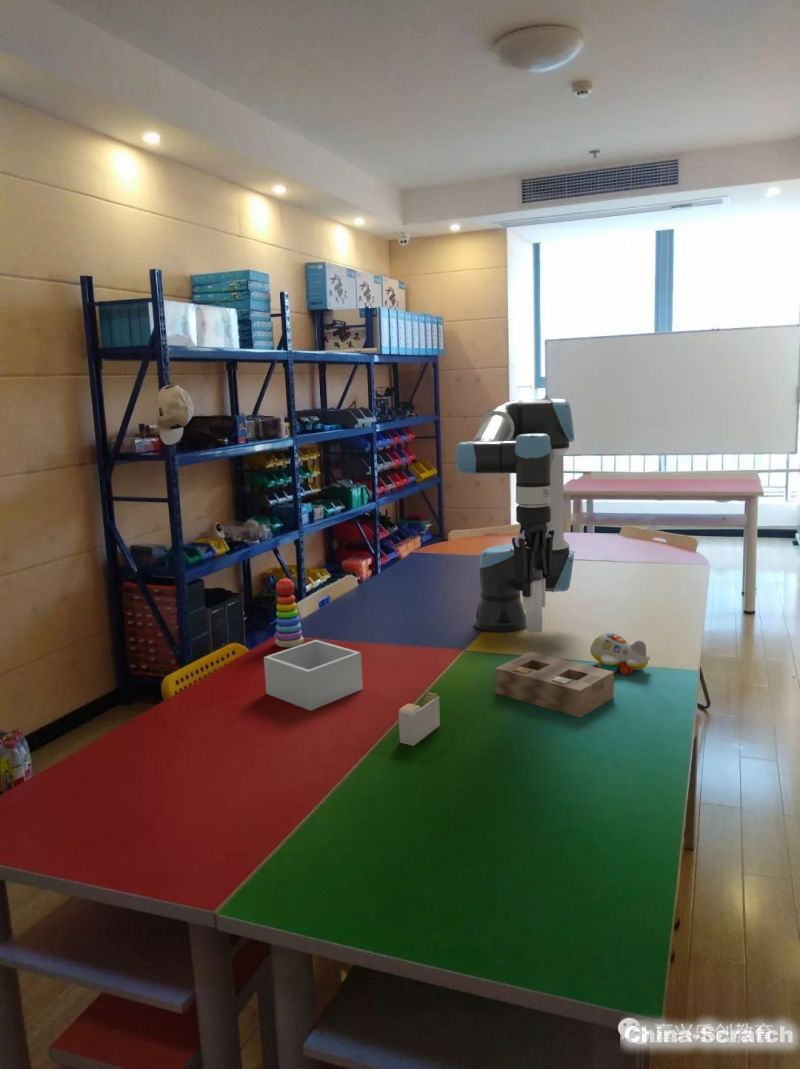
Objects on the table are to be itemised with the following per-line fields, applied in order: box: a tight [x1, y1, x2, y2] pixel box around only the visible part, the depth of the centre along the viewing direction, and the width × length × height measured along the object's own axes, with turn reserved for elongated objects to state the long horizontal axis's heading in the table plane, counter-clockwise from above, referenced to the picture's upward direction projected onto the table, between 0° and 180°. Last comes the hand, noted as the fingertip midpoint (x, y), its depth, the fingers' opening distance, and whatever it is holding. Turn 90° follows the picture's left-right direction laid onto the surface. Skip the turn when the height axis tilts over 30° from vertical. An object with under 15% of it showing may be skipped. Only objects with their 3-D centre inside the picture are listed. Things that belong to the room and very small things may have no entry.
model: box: [398, 690, 441, 746], centre depth 160 cm, size 3×11×8 cm, turn 148°
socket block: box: [494, 651, 615, 719], centre depth 177 cm, size 22×14×6 cm, turn 47°
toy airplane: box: [589, 632, 651, 676], centre depth 192 cm, size 13×9×15 cm
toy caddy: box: [263, 639, 364, 711], centre depth 184 cm, size 16×16×9 cm
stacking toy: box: [274, 577, 305, 648], centre depth 219 cm, size 8×8×19 cm
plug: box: [525, 568, 543, 634], centre depth 177 cm, size 4×4×14 cm
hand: (534, 607), depth 177 cm, fingers closed on plug, 3 cm apart
